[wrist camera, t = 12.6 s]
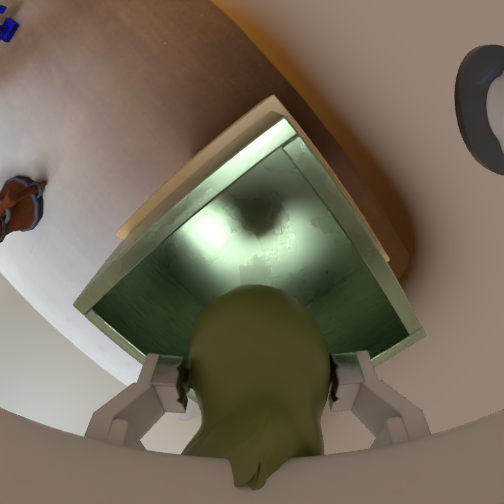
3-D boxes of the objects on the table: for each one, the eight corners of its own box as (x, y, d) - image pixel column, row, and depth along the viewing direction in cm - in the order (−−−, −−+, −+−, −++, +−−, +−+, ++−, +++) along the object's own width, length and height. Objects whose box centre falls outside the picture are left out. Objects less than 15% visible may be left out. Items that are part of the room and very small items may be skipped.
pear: (256, 364, 16) (254, 541, 8) (177, 313, 15) (121, 510, 6) (335, 305, 14) (389, 509, 6) (253, 236, 13) (247, 490, 4)
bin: (319, 172, 46) (440, 335, 14) (249, 224, 50) (238, 436, 18) (262, 100, 41) (288, 85, 9) (190, 158, 45) (56, 302, 13)
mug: (47, 144, 43) (-9, 165, 30) (75, 198, 48) (26, 232, 35) (-2, 192, 47) (-49, 220, 33) (23, 237, 51) (-20, 273, 38)
